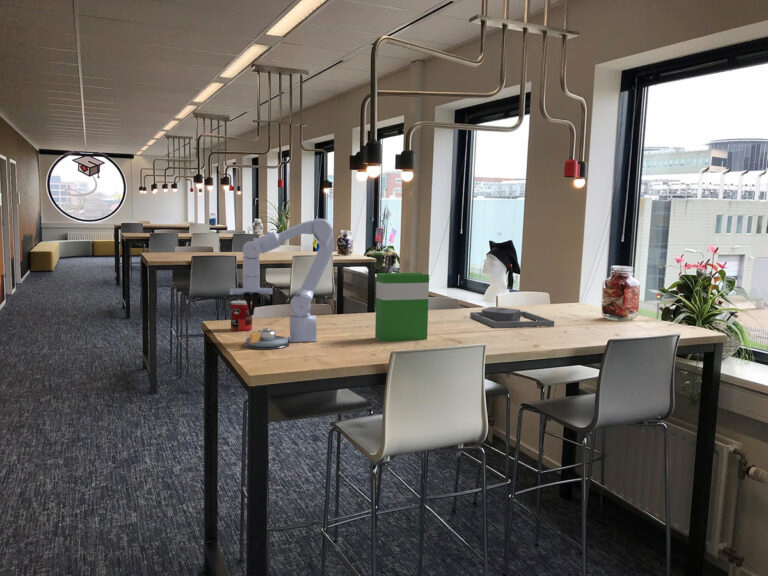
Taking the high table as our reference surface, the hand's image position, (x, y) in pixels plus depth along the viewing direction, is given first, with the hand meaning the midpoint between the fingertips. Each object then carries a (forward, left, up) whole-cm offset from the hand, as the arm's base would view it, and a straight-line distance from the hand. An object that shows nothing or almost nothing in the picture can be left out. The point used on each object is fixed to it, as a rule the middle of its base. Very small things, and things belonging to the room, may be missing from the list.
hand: (251, 314), depth 218 cm
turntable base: (-5, +8, -9) cm, 13 cm away
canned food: (+3, -22, -10) cm, 24 cm away
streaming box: (-108, -31, -10) cm, 113 cm away
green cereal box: (-54, +2, -10) cm, 55 cm away
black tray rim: (-112, -28, -9) cm, 116 cm away
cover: (-5, +8, -7) cm, 12 cm away
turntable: (-5, +8, -9) cm, 13 cm away
